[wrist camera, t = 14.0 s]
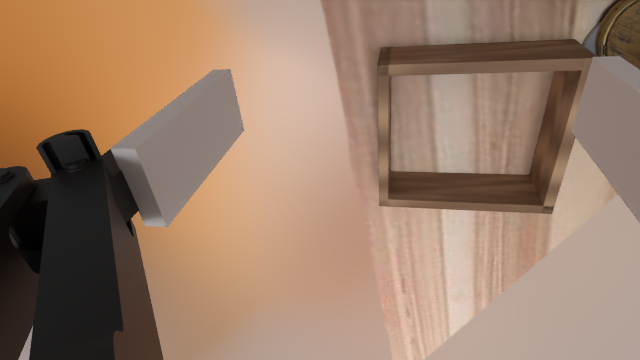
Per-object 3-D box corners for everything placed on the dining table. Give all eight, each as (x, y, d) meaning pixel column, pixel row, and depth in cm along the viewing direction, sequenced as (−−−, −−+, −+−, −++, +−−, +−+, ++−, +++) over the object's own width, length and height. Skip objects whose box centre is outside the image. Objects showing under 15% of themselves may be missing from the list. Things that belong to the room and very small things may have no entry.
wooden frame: (381, 47, 47) (377, 65, 42) (574, 39, 43) (599, 57, 37) (382, 177, 58) (379, 206, 52) (537, 182, 53) (551, 213, 48)
